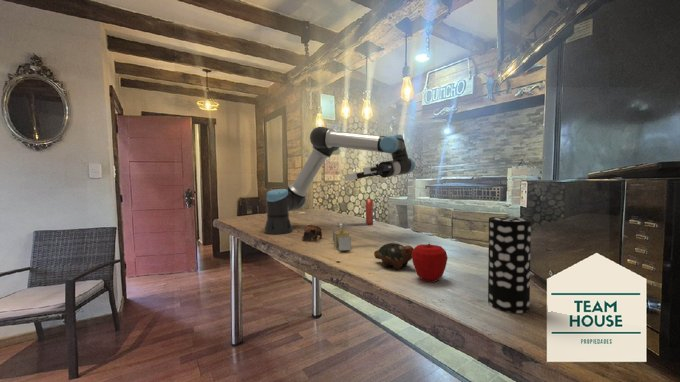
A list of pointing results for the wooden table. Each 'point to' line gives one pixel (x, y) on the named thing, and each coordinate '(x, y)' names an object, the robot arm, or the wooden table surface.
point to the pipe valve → (341, 240)
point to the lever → (368, 216)
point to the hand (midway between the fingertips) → (354, 174)
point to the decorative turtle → (394, 255)
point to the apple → (429, 261)
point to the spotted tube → (509, 264)
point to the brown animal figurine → (312, 233)
